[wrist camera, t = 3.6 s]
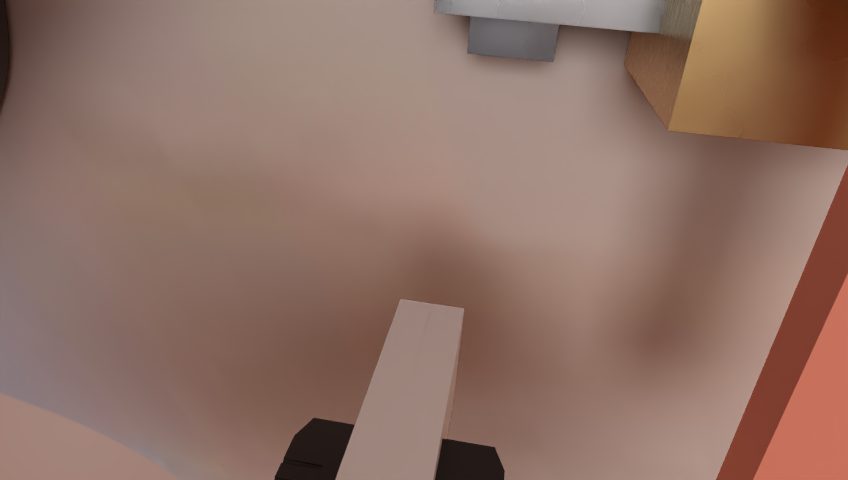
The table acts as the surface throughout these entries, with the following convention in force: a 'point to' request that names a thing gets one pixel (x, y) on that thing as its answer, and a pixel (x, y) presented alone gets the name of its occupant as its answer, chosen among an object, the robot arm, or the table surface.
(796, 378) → the lever
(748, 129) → the valve
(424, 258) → the table surface
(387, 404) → the robot arm
